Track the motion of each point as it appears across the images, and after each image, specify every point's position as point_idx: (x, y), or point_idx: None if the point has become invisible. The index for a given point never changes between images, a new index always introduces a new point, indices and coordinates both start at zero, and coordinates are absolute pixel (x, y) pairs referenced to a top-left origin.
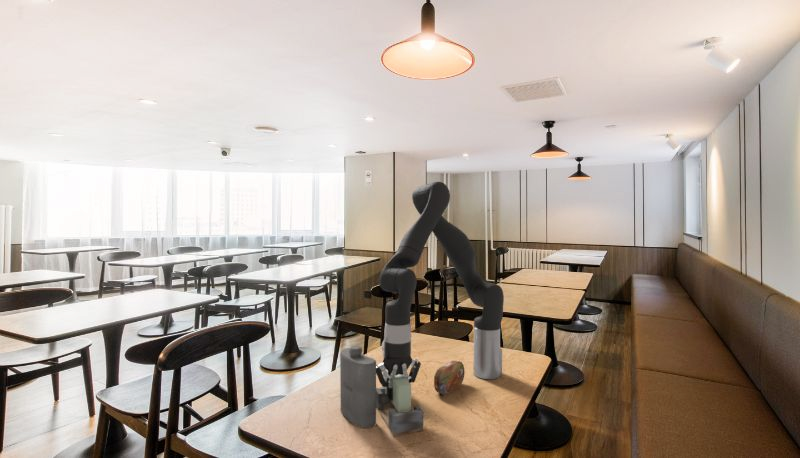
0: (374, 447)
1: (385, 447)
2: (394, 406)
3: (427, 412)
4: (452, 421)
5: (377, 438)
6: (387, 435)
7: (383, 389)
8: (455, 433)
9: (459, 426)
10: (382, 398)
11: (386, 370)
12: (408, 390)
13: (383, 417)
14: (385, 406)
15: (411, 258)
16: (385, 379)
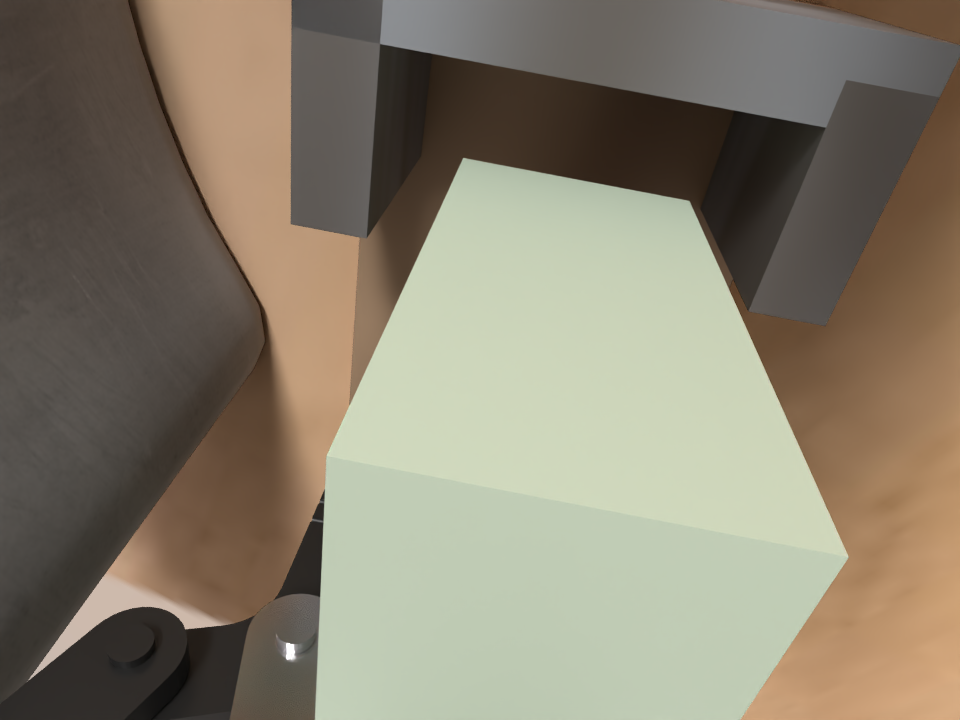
0: (175, 574)
1: (247, 604)
2: (598, 180)
3: (862, 433)
4: (906, 629)
5: (220, 514)
6: (306, 522)
7: (467, 59)
8: (774, 714)
9: (882, 686)
10: (386, 207)
11: (338, 535)
12: None
13: (354, 335)
14: (485, 119)
15: None
16: (410, 284)
